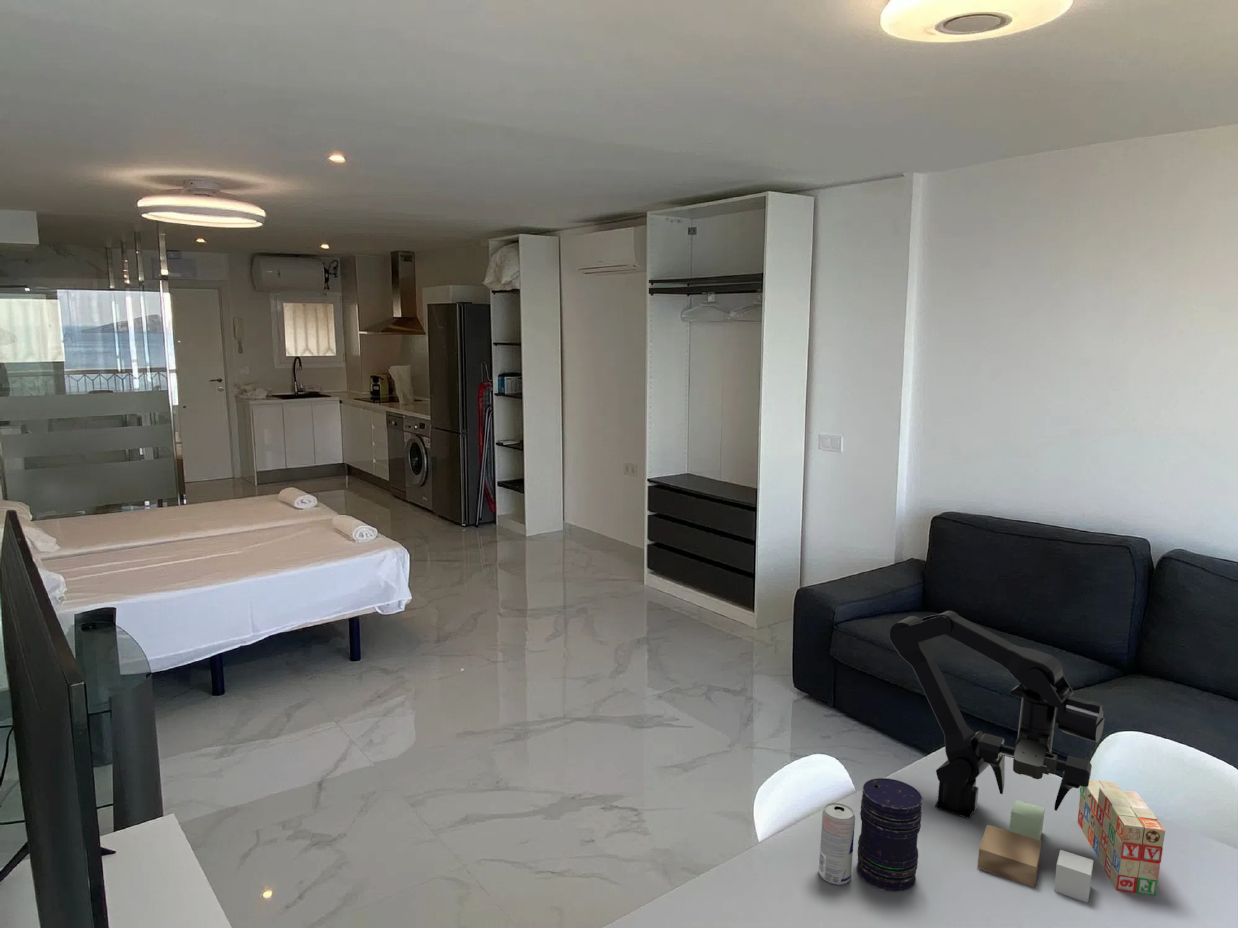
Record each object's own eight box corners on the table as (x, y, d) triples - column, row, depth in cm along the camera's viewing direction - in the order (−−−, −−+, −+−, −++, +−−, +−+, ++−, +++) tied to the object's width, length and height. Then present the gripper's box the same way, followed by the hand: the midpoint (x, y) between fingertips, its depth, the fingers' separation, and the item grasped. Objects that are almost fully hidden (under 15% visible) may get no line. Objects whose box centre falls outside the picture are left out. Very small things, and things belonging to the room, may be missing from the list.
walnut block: (977, 869, 143) (979, 848, 142) (985, 844, 150) (987, 824, 150) (1034, 888, 138) (1036, 866, 137) (1039, 861, 146) (1041, 840, 145)
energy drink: (851, 870, 141) (856, 805, 139) (849, 888, 136) (854, 822, 134) (820, 863, 143) (824, 799, 141) (817, 881, 138) (821, 815, 136)
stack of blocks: (1076, 821, 158) (1082, 762, 157) (1111, 826, 157) (1118, 766, 155) (1116, 890, 138) (1124, 823, 136) (1157, 897, 136) (1166, 829, 135)
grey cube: (1053, 891, 137) (1056, 863, 136) (1057, 876, 141) (1060, 849, 141) (1087, 902, 134) (1090, 875, 134) (1090, 887, 138) (1093, 860, 138)
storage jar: (925, 873, 141) (932, 792, 139) (901, 900, 134) (908, 815, 132) (871, 848, 147) (877, 771, 145) (845, 873, 140) (851, 792, 138)
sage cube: (1008, 836, 153) (1011, 811, 152) (1013, 823, 157) (1015, 799, 156) (1038, 845, 150) (1041, 820, 149) (1042, 832, 154) (1044, 808, 153)
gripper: (974, 724, 149) (966, 803, 151) (1090, 754, 139) (1080, 839, 141) (985, 703, 158) (978, 778, 160) (1095, 730, 148) (1086, 810, 150)
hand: (1028, 801), depth 153 cm, fingers open, 9 cm apart
